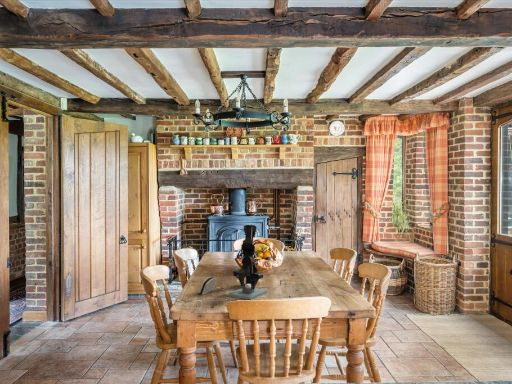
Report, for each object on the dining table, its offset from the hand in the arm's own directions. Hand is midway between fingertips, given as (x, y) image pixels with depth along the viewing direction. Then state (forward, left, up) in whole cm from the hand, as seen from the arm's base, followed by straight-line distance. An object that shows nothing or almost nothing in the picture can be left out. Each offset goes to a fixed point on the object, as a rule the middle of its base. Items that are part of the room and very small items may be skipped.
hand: (248, 288), depth 248 cm
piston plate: (0, 0, -4) cm, 4 cm away
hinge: (+7, -26, -4) cm, 27 cm away
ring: (0, 0, -2) cm, 2 cm away
